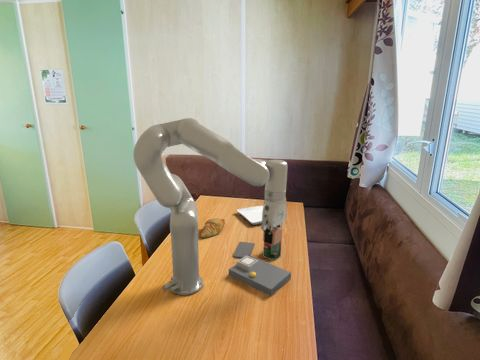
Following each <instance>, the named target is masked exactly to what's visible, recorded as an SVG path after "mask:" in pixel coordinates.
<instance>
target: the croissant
mask: <svg viewBox="0 0 480 360" xmlns="http://www.w3.org/2000/svg"><path fill="white" fill-rule="evenodd" d="M225 221H226V220H225V219H224V218H210V219H207V220H206V221H205V222H204V226H203V228H202V231H201V234H200V237H201V238H203V239H204V238H205V239H206V238H211V237H213V236H217V235H219V234H220V233H221V232H222V231H223V229H224V227H225V224H226V222H225Z"/></svg>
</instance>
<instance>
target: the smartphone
mask: <svg viewBox="0 0 480 360" xmlns="http://www.w3.org/2000/svg"><path fill="white" fill-rule="evenodd" d="M255 244H256V243H254V242H247V241H239V242H238V244H237V245H236V246H237V247H236V249H235V251H234V252H233V254H232V257H233V258H235V259H241V258H243V257H245V256H246V255H247V256H250V255H251V256H252V253H253V250H254V248H255Z"/></svg>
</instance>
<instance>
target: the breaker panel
mask: <svg viewBox="0 0 480 360" xmlns="http://www.w3.org/2000/svg"><path fill="white" fill-rule="evenodd" d="M246 257H248V258H250V259H252V260H255V262H254V263H252V264H251V265H249V266H248V265H246V264H244V263H242V262H241V261H242V260H243V259H245V258H246ZM228 276H229V277H231V278H232V279H234V280H237V281H238V282H240V283H242V284H245V285H247V286H249V287H250V288H251V289H252V288H253V289H255V290H257V291H259V292H261V293H263V294H265V295H267V296H269V297H272V296H273V295H274V294H275V293H276V292H278V291H279V290H281V289H282V288H283V287H284V286H285V285H286V284H287V283H288V282H290V281H291V278H292V272H290V271H288V270H287V269H283V268H282V267H279V266H276V265H275V264H272V263H270V262H267V261H264V260H262V259H260V258H257V257H255V256H253V255H252V254H251V255H250V256H247V255H246V256H245V257H243V258H239V259H238V260H237V261H236V264H234V265H233V266H231V267H229V268H228Z"/></svg>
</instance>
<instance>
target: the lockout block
mask: <svg viewBox="0 0 480 360" xmlns="http://www.w3.org/2000/svg"><path fill="white" fill-rule="evenodd" d="M267 228H268V229H270V227H267ZM272 234H273V237H272V244H273V245H275V244H277V243H278V242H280V241H281V240H282V239H283V237H282V236H283V228H280V227H277V226H276V227H274V228H273V229H272ZM264 235H265V233H264V232H263V237H262V241H263V242H264ZM281 242H282V241H281Z"/></svg>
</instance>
